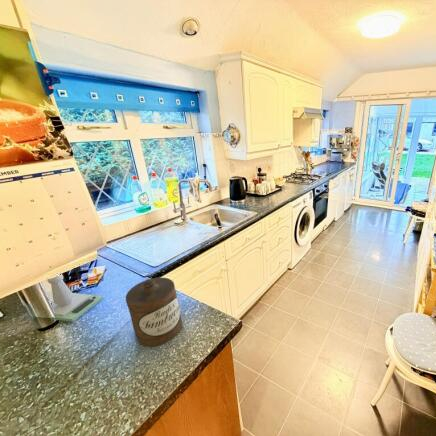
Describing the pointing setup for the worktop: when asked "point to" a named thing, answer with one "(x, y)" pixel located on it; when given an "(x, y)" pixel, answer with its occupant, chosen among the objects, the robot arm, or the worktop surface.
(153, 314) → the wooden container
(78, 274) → the robot arm
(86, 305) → the kitchen scale
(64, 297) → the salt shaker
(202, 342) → the worktop surface
